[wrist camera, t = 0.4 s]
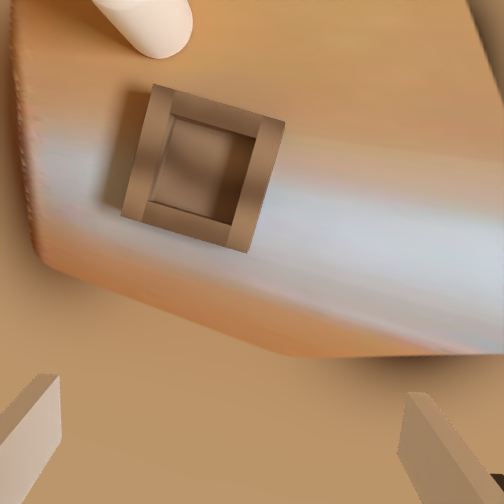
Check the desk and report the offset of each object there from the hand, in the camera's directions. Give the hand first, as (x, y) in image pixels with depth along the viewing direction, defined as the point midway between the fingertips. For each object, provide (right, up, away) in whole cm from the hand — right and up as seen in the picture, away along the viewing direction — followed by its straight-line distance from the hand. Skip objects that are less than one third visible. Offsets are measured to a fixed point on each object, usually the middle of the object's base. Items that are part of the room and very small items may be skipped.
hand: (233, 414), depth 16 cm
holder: (-4, +14, +25) cm, 29 cm away
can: (-8, +28, +24) cm, 38 cm away
